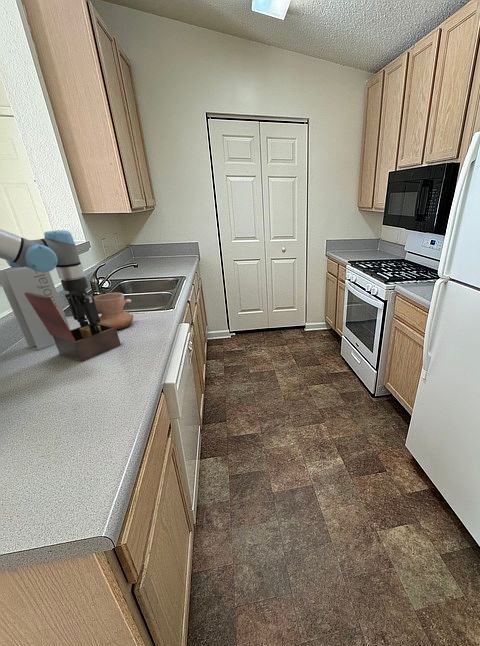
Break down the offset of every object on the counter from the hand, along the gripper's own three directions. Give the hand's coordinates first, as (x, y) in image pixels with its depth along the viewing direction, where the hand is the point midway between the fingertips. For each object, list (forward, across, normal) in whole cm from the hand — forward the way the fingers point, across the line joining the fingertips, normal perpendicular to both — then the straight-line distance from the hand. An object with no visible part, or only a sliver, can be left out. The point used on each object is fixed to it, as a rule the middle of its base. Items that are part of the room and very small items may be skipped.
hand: (93, 338), depth 126 cm
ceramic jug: (+4, +14, -18) cm, 23 cm away
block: (0, 0, 0) cm, 0 cm away
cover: (-13, 0, +11) cm, 16 cm away
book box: (+4, 0, +2) cm, 5 cm away
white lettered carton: (+4, +22, +5) cm, 23 cm away
